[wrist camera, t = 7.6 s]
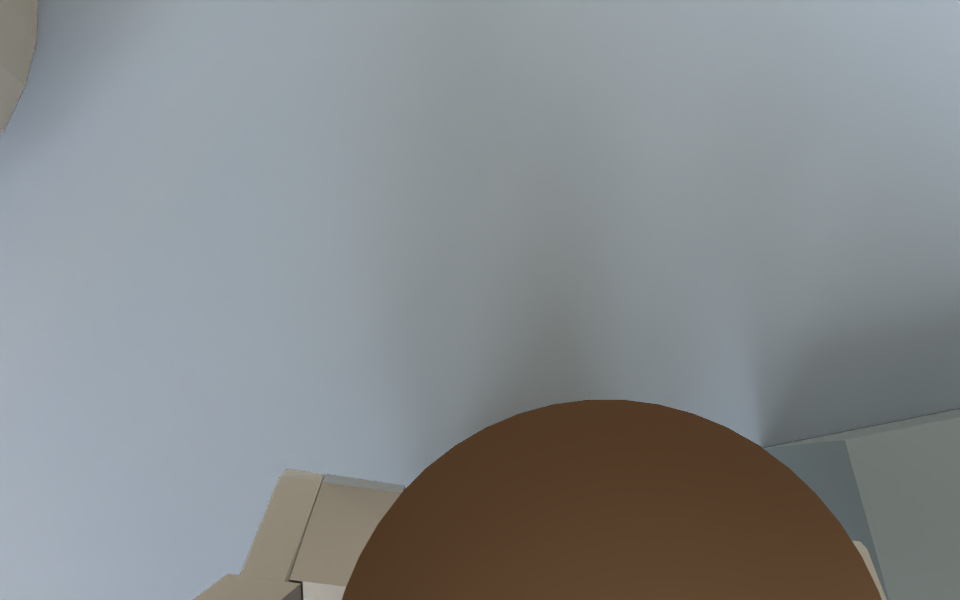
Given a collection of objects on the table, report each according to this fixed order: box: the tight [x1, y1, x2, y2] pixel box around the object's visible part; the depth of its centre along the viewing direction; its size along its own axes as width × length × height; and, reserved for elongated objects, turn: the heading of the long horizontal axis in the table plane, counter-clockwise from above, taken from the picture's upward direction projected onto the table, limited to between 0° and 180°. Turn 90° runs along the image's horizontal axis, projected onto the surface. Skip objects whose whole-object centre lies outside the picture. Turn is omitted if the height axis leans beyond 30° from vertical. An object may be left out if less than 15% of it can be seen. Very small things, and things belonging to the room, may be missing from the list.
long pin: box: [342, 400, 882, 600], centre depth 11 cm, size 4×4×11 cm
